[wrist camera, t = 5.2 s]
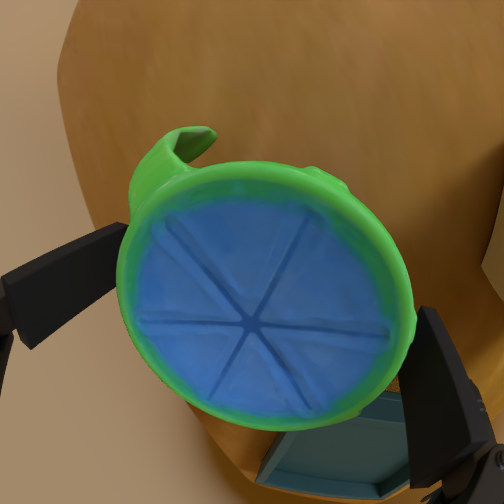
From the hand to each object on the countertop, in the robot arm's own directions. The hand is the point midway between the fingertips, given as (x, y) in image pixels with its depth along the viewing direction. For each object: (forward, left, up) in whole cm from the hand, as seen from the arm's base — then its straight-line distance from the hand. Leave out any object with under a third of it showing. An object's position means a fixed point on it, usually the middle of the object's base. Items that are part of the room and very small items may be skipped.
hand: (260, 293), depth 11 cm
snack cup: (0, 0, -7) cm, 7 cm away
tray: (-13, +20, -7) cm, 25 cm away
